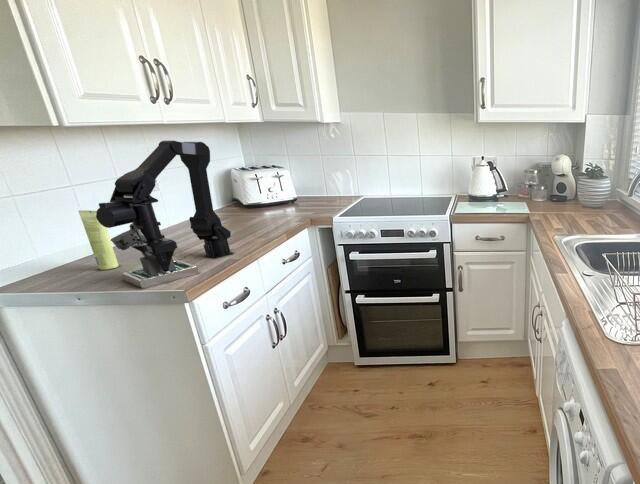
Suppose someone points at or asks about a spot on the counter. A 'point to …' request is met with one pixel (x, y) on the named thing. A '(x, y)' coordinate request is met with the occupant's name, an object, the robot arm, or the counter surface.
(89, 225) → the tube
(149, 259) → the dark grey block
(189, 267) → the striped rimmed tray
